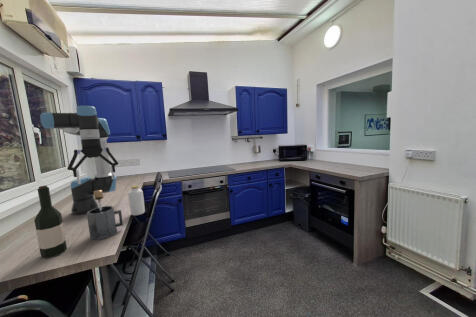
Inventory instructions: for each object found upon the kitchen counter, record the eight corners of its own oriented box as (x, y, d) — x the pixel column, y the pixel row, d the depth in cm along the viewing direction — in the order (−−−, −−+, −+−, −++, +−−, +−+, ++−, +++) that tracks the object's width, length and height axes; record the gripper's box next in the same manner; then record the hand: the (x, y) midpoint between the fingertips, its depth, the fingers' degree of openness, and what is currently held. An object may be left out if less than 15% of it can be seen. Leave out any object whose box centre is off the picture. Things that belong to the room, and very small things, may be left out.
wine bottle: (52, 248, 89) (41, 184, 86) (71, 246, 90) (61, 183, 86) (35, 259, 81) (22, 189, 77) (56, 257, 81) (44, 187, 78)
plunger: (95, 226, 101) (89, 190, 98) (111, 222, 104) (106, 188, 102) (94, 231, 95) (88, 193, 93) (111, 227, 99) (106, 190, 96)
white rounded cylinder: (139, 216, 122) (135, 188, 120) (127, 216, 123) (124, 188, 121) (147, 211, 130) (144, 185, 128) (137, 211, 131) (133, 185, 129)
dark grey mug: (91, 233, 102) (87, 209, 100) (122, 225, 109) (119, 203, 108) (89, 242, 92) (85, 216, 91) (124, 233, 100) (120, 208, 98)
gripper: (54, 140, 85) (62, 187, 87) (120, 137, 98) (125, 178, 101) (58, 140, 91) (65, 184, 93) (119, 137, 105) (124, 176, 107)
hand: (96, 181), depth 97 cm, fingers open, 13 cm apart
